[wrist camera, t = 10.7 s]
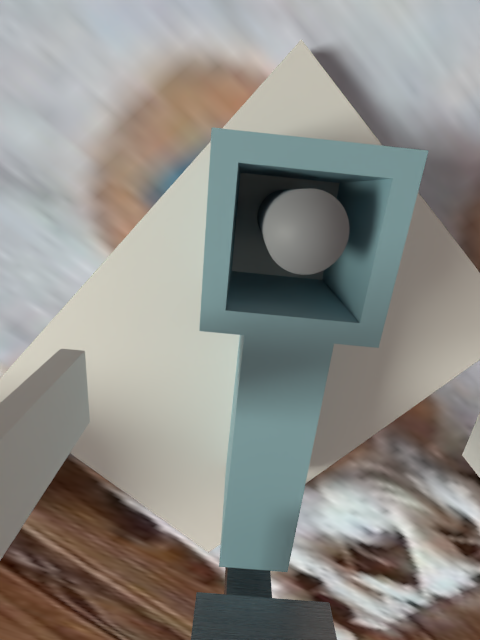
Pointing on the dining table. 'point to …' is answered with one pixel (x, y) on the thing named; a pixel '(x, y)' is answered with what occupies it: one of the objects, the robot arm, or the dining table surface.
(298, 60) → the board
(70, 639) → the dining table surface
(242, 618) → the block
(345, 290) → the link
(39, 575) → the dining table surface
